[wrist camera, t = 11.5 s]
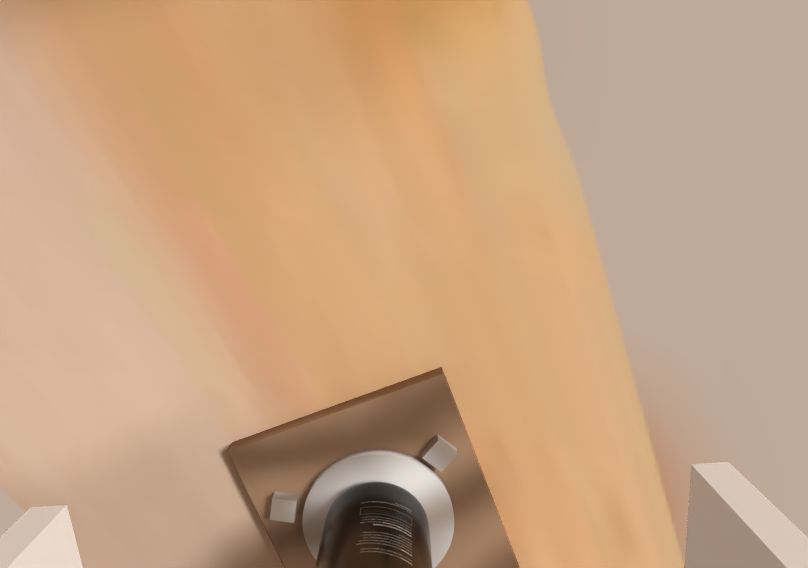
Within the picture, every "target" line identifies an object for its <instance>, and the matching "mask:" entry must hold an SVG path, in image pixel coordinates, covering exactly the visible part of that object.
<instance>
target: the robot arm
mask: <svg viewBox="0 0 808 568" xmlns="http://www.w3.org/2000/svg"><path fill="white" fill-rule="evenodd" d="M0 568H83V567H82V563H81V559H80V555H79V551H78V547H77V543H76V539H75V535H74V531H73V527H72V524H71V520H70V516H69V512H68V508H67V505H57V506H42V507H31V508H29V509H28V510H27V511H26V512H25V513H24V514H23V515H22V516H21V517H20V518H19V519H18V520H17V521H16V522H15V523H14V524H13V525H12V526H11V527H10V528H9V529H8V530H7V531H6V532H5V533H4V534H3V535H2V536H0ZM684 568H808V537H807V536H805V535H804V534H803V533H802V532H801V531H800V530H799V529H798V528H797V527H796V526H795V525H794V524H793V523H792V522H791V521H790V520H789V519H788V518H787V517H785V516H784V515H783V514H782V513H781V512H780V511H779V510H778V509H777V508H776V507H775V506H774V505H773V504H772V503H771V502H770V501H769V500H768V499H767V498H766V497H765V496H763V495H762V494H761V493H760V492H759V491H758V490H757V489H756V488H755V487H754V486H753V485H752V484H751V483H750V482H749V481H748V480H747V479H746V478H745V477H744V476H743V475H741V474H740V473H739V472H738V471H737V470H736V469H735V468H734V467H733V466H732V465H731V464H730V463H729V462H721V463H705V464H692V465H691V477H690V493H689V507H688V522H687V537H686V552H685V567H684Z"/></svg>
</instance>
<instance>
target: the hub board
mask: <svg viewBox="0 0 808 568" xmlns="http://www.w3.org/2000/svg"><path fill="white" fill-rule="evenodd" d="M227 452H228V454H229V456H230V458H231V460H232V462H233V464H234V466H235V468H236V470H237V472H238V474H239V476H240V478H241V480H242V482H243V484H244V486H245V488H246V490H247V492H248V494H249V496H250V498H251V500H252V502H253V504H254V506H255V508H256V510H257V512H258V514H259V517H260V519H261V521H262V523H263V525H264V527H265V529H266V531H267V533H268V535H269V537H270V539H271V541H272V543H273V545H274V547H275V549H276V551H277V553H278V555H279V557H280V559H281V561H282V563H283V565H284V567H285V568H315V564H316V560H317V555H318V551H319V546H320V542H321V537H322V532H323V528H324V524H325V520H326V517H327V514H328V511H329V509H330V507H331V506H332V504H333V503H334V501H335V500H336V499H337V498H338V497H339V496H340V495H341V494H342V493H344V492H345V491H346V490H348V489H350V488H352V487H354V486H356V485H359V484H362V483H367V482H387V483H391V484H394V485H397V486H400V487H402V488H404V489H405V490H407V491H408V492H410V493H411V494H412V495H413V496H415V497H416V498H417V500H418V501H419V502H420V503H421V505H422V506H423V508H424V510H425V512H426V515H427V518H428V523H429V530H430V543H431V557H432V568H519V565H518V562H517V559H516V557H515V554H514V552H513V549H512V547H511V544H510V541H509V539H508V536H507V534H506V531H505V529H504V526H503V524H502V521H501V518H500V516H499V513H498V511H497V508H496V506H495V503H494V500H493V498H492V495H491V493H490V490H489V488H488V485H487V482H486V480H485V477H484V475H483V472H482V470H481V467H480V464H479V462H478V459H477V457H476V454H475V452H474V449H473V446H472V444H471V441H470V439H469V436H468V434H467V431H466V429H465V426H464V423H463V421H462V418H461V416H460V413H459V411H458V408H457V405H456V403H455V400H454V398H453V395H452V393H451V390H450V387H449V385H448V382H447V380H446V377H445V375H444V372H443V369H442V367H441V368H438V369H435V370H433V371H430V372H427V373H424V374H421V375H419V376H416V377H413V378H410V379H408V380H405V381H402V382H399V383H396V384H394V385H391V386H388V387H385V388H383V389H380V390H377V391H374V392H371V393H369V394H366V395H363V396H360V397H358V398H355V399H352V400H349V401H346V402H344V403H341V404H338V405H335V406H333V407H330V408H327V409H324V410H321V411H319V412H316V413H313V414H310V415H308V416H305V417H302V418H299V419H296V420H294V421H291V422H288V423H285V424H283V425H280V426H277V427H274V428H271V429H269V430H266V431H263V432H260V433H258V434H255V435H252V436H249V437H246V438H244V439H241V440H238V441H235V442H233V443H232V445H231V446H230V448H229V450H228V451H227Z"/></svg>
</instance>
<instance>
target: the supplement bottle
mask: <svg viewBox="0 0 808 568" xmlns="http://www.w3.org/2000/svg"><path fill="white" fill-rule="evenodd" d="M315 568H432V557H431V543H430V530H429V523H428V518H427V515H426V512H425V510H424V508H423V506H422V505H421V503H420V502H419V501H418V500H417V498H416V497H415V496H413V495H412V494H411V493H410V492H408V491H407V490H405V489H404V488H402V487H400V486H397V485H394V484H391V483H387V482H367V483H362V484H359V485H356V486H354V487H352V488H350V489H348V490H346V491H345V492H344V493H342V494H341V495H340V496H339V497H338V498H337V499H336V500H335V501H334V503H333V504H332V506H331V507H330V509H329V511H328V514H327V517H326V520H325V524H324V528H323V532H322V537H321V542H320V546H319V551H318V555H317V560H316V564H315Z"/></svg>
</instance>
